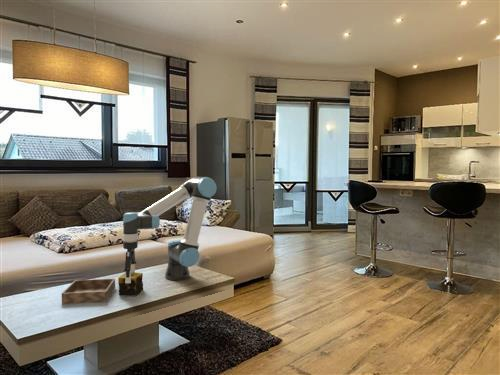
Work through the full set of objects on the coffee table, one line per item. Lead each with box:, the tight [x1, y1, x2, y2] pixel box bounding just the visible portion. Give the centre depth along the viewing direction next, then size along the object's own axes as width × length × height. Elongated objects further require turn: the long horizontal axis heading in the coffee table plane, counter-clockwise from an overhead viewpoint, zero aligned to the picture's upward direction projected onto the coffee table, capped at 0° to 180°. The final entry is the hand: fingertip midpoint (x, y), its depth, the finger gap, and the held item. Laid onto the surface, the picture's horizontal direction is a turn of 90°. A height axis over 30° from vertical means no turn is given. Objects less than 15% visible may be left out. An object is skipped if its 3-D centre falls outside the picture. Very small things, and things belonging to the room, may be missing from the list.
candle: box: [117, 272, 144, 297], centre depth 206 cm, size 10×10×10 cm
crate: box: [61, 278, 116, 305], centre depth 202 cm, size 22×22×6 cm
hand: (130, 279), depth 206 cm, fingers open, 13 cm apart
